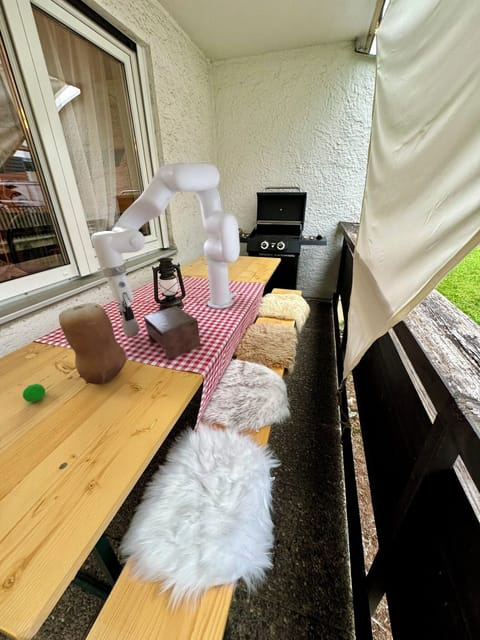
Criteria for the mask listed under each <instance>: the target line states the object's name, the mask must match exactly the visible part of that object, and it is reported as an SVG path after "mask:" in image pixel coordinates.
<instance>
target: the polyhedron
mask: <svg viewBox="0 0 480 640" xmlns="http://www.w3.org/2000/svg"><path fill="white" fill-rule="evenodd" d="M45 395H46V389H45V387H44V386H43V385H42V384H39V383H35V384H33V383H32V384H30V385H28V386H27V387H25V389H24V390H23V391H22V398H23V399H24V400H25V401H26V402H29V403H35V402H38V401H40V400H42V399H43V398H44V396H45Z"/></svg>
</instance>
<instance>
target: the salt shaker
mask: <svg viewBox="0 0 480 640" xmlns="http://www.w3.org/2000/svg"><path fill="white" fill-rule="evenodd" d="M125 306H126V304H125V305H124V307H125ZM118 307H119V308H118V311H119V313H120V312H122V316H121V318H122V319H121V321H122V331H123V334H124V335H126V336H127V338H135V337H137V336H138V335H139V332H140V325H139V324H138V322H137V320H136V317H135V318H134V319H132V320H129V321H126V320H125V317H124V314H123V308H122V305H121V304H120V305H119V306H118Z"/></svg>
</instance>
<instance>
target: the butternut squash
mask: <svg viewBox="0 0 480 640" xmlns="http://www.w3.org/2000/svg"><path fill="white" fill-rule="evenodd" d="M58 322H59V326H60V328H61V331H62V333H63V336H64V338H65V340H66V341H67V343H68V345H69V347H70V348H71V349H72V350H73V352H74V354H75V356H74V357H75V358H74V365H75V368H76V371H77V373H78V375H79V376H80V377H81V379H83V381H85V382H86V383H87V384H90V385H91V384H92V385H103V384H107V383H109V382H110V381H112V380H113V379H115V378H116V377H117V376H118V374H119V373H120V372H121V370H122V369H123V368H124V367H125V365H126V363H127V354H126V352H125V349H124V348H123V347H122V345H120V344H119V342H118V341H117V339H116V336H115V332H114V328H113V327H114V326H113V323H112V321H111V319H110V317H109V315H108V313H107V311H106V309H105V308H104V307H103V306H102V305H100V304H99V303H96V302H86V303H82V304H79V305H75V306H72V307H68V308H66V309H65V310H62V311H61V312H60V313H59V315H58Z"/></svg>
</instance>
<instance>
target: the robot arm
mask: <svg viewBox="0 0 480 640" xmlns="http://www.w3.org/2000/svg"><path fill="white" fill-rule="evenodd" d="M220 179H221V176H220V172H219V169H218V167H216V166H215V165H214V164H213V163H211V162H173V163H165V164H163V165H161V166H160V167H159V168H158V169H157V171H156V172H155V174H154V175H153V177H152V179H151V180H150V181H149V183H148V184H147V186H146V187H145V189H144V190H143V192H142V193H141V195H140V196H139V197H138V198H137V199H136V200H135V201H134V202H133V203H132V204H131V205H130V206H129V207H128V208H127V209H126V210H125V211H123V213H122V214H121V215H120V217H119V218H118V220H116V222H115V224H114V225H113V227H112V229H111V231H109V230H107V231H99V232H95V233H93V234H91V238H90V239H91V243H92V246H93V249H94V252H95V256H96V258H97V261H98V265H99V267H100V271H101V273H102V277H103V278H104V279H106V281H107V283H108V288H109V290H110V293H111V296H112V298H113V299H114V301H116V304H117V308H118V309H119V305H120V304H121V305H122V308H123V314H124V317H125V320H126V321H129V320H132V319H134V318H135V319H136V317H135V314H134V310H133V307H132V304H131V302H134V301H135V298H134V294H133V292H132V288H131V286H130V282H129V280H128V277H127V275H126V274H127V268H126V264H125V261H124V256H123V254H129V253H130V254H131V253H137V252H138V253H139V252H140V251H142V249H143V248H144V247H145V245H146V238H145V236H144V234H143V233H142V232H141V231H139V230H140V229H141V228H142V227H143V226H144V225H145V224H147V223H148V222H150V221H152V220H154V219H156V218H158V217H160V216H161V215H163V213H164V212H165V210H166V209H167V207H168V206H169V204H170V203H171V201H172V199H173V198H174V197H175V195H176V193H177V192H179V193H185V192H187V193H188V192H193V193H195V195H196V197H197V198H198V202H199V206H200V210H201V218H202V224H203V230H204V231H205V233H206V234H208V235H211V236H212V237H209V238H208V239H206V240H205V242H204V244H203V254H204V257H205V261H206V267H207V276H208V277H207V278H208V287H209V288H208V289H209V299H208V300H207V301H206V302H207V303H206V304H207V306H208V307H209V308H212V309H216V310H217V309H219V310H220V309H227V308H230V307H231V306H232V305H233V304H234V299H233V297H237V296H238V292H237V291H234V292H232V291H230V277H229V274H230V273H229V265H228V264H233V263H236V261H237V260H238V259H239V256H240V254H241V253H240V252H241V247H240V245H241V244H240V231H239V223H238V220H237V218H236V216H235V215H234V214H232V213H230V212H227V211H223V207H222V200H221V196H220V193H219V190H218V188H217V186H218V185H219V183H220ZM125 304H126V306H125V307H124V305H125ZM119 315H120V317H122V312H120V311H119Z"/></svg>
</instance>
